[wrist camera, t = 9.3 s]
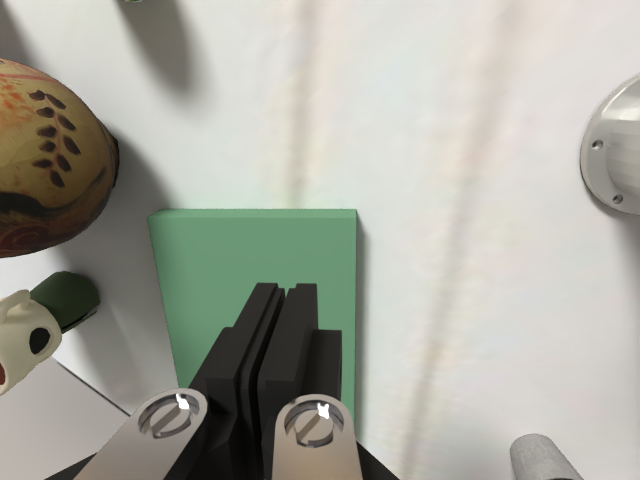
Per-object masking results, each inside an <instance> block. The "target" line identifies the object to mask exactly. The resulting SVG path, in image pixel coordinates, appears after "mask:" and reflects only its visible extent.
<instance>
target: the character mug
mask: <svg viewBox="0 0 640 480" xmlns="http://www.w3.org/2000/svg"><path fill="white" fill-rule="evenodd" d="M99 303H100V299H99V295H98V291H97V290H96V288H95V287H94V286H93V284H92V283H91V282H90V281H89V280H87V279H86V278H84V277H82V276H80V275H78V274H75V273H71V272H67V271H62V272H55V273H54V274H52V275H51V276H49V277H48V278H47V279H45V280H44V281H43V282H41V283H40V284H39V285H38V286H36V287H35V288H34V289H33V290H32V291H30V292H29V291H28V290H19V291H17V292H16V293H14V294H12V295H10V296H8V297H5V298H2V299H0V396H1V395H3V394H5V393H6V392H7V391H9V390H10V389H11V388H12V387H13V386H14V385H16V384H17V383H18V382H20V381H21V380H22V379H24V378H25V377H26V376H27V374H28V373H29V372H30V371H31V370H33V369H34V368H35V366H36V365H37V364H38V363H40V362H42V361H44V360H46V359H47V358H49V357H50V356H51V355H52V354H53V353H54V352H55V350H56V349H57V348H58V347H59V345H60V343H61V341H62V334H64V333H65V332H67V331H69V330H71V329H72V328H74V327H76V326H77V325H79V324H80V323H82V322H83V321H85V320H86V319H88V318H89V317H91V316H92V315H94V314H95V313H96V312H97V310H96V311H95V312H93V313H92V314H90V315H89V316H87V317H85V316H86V315H87V314H88V313H89V311H90V310H91V309H93V308H94V307H95V306H97V305H98V304H99ZM84 317H85V318H84ZM83 318H84V319H83Z"/></svg>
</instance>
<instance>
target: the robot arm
mask: <svg viewBox="0 0 640 480" xmlns="http://www.w3.org/2000/svg"><path fill="white" fill-rule="evenodd" d="M593 142H594V145H593V146H592V144H593ZM580 163H581V169H582V175H583V177H584V180H585V182H586V185H587V186H588V188H589V189H590V191H591V192H592V193H593V195H594V196H595V197H597V198H598V199H599V200H600V201H601V202H602V203H604V204H606V205H608V206H610V207H612V208H613V209H616V210H619V211H622V212H624V213H628V214H634V215H640V74H639V75H637V76H635V77H634V78H632V79H630V80H628V81H627V82H625V83H624V84H623V85H621V86H620V87H619V88H618V89H617V90H615V91H614V92H613V93H612V94H611V95H610V96H609V97H608V98H607V99H606V100H605V101H604V102H603V103H602V105H601V106H600V107H599V109H598V110H597V112H596V113H595V115H594V116H593V118H592V119H591V121H590V123H589V125H588V128H587V130H586V132H585V135H584V138H583V142H582V146H581V158H580ZM341 389H342V330H325V329H318V298H317V284H316V283H297V284H296V287H295V288H289V290H288V293H287V296H285V289H284V288H279V287H278V284H277V283H260V282H258V283H257V284H256V286H255V287H254V289H253V291H252V293H251V295H250V296H249V298H248V300H247V302H246V304H245V306H244V307H243V309H242V311H241V313H240V315H239V317H238V318H237V320H236V322H235V324H234V326H233V327H224V328H223V329H222V331H221V332H220V334H219V336H218V337H217V339H216V341H215V343H214V344H213V346H212V348H211V349H210V351H209V353H208V354H207V356H206V358H205V360H204V361H203V363H202V365H201V366H200V368H199V370H198V371H197V373H196V375H195V377H194V378H193V380H192V382H191V383H190V385H189V387H188V388H178V389H172V390H168V391H165V392H162V393H160V394H157V395H155V396H154V397H152V398H150V399H148V400H147V401H146V402H144V403H143V404H142V405H141V406H140V407H139V408H138V409H137V410H136V411H135V412H134V413H133V414H132V415H131V416H130V418H129V419H128V420H127V421H126V422H125V423H124V424H123V425H122V426H121V427H120V429H119V430H118V431H117V432H116V433H115V434H114V435H113V436H112V437H111V438H110V440H109V441H108V442H107V443H106V444H105V445H104V446H103V447H102V449H101V450H100V451H99V452H97V453H95V454H93V455H91V456H89V457H87V458H85V459H83V460H82V461H80V462H78V463H76V464H74V465H72V466H70V467H68V468H66V469H64V470H62V471H60V472H58V473H56V474H54V475H52V476H50V477H49V478H46V479H45V480H400V479H398V478H397V477H396V476H395V475H394V474H393V473H392V472H391V471H389V470H388V469H387V468H386V467H385V466H384V465H383V464H382V463H381V462H379V461H378V460H377V459H376V458H375V457H374V456H373V455H372V454H370V453H369V452H368V451H367V450H366V449H365V448H364V447H363V446H362V445H360V444H359V443H358V442H357V441H356V439H355V433H354V427H353V422H352V418H351V415H350V413H349V410H348V409H347V408H346V407H345V406H344V404H343V403H341Z"/></svg>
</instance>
